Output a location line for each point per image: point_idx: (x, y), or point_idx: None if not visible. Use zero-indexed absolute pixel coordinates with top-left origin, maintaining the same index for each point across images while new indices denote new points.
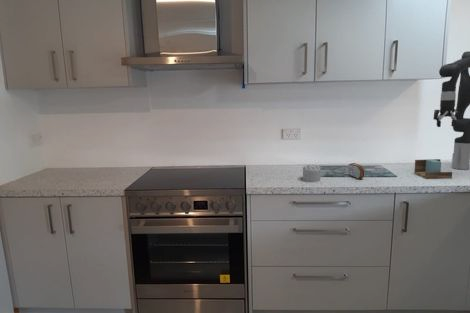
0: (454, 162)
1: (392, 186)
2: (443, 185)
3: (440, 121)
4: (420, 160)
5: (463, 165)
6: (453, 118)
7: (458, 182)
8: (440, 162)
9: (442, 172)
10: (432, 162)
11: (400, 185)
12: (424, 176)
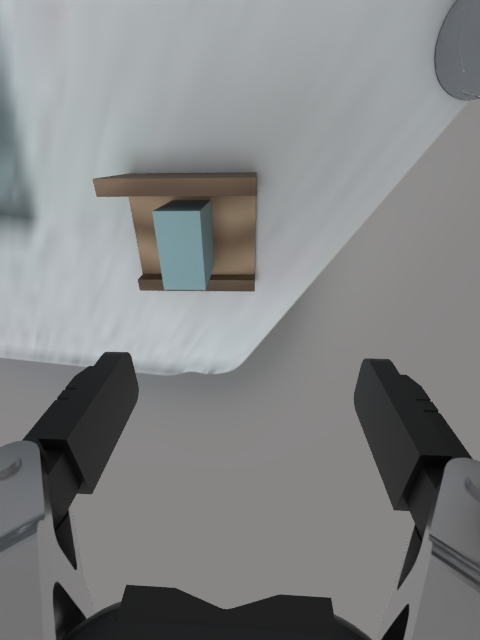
0: (462, 29)
1: (7, 354)
2: (169, 362)
3: (88, 481)
4: (124, 195)
5: (474, 93)
6: (405, 555)
7: (238, 338)
8: (201, 289)
9: (212, 286)
10: (163, 278)
11: (34, 347)
12: (143, 268)
